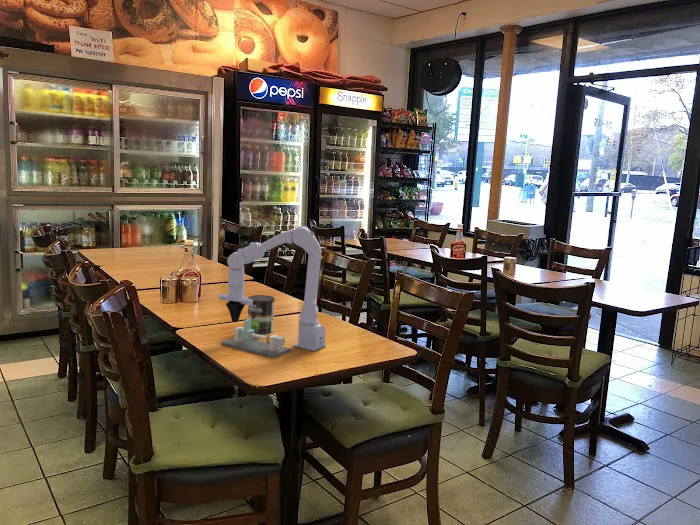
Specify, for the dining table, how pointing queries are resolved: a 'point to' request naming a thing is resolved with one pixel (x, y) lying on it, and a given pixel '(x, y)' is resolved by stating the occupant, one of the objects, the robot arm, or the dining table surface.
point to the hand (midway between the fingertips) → (235, 321)
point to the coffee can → (262, 314)
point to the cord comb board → (258, 344)
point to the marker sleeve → (247, 330)
